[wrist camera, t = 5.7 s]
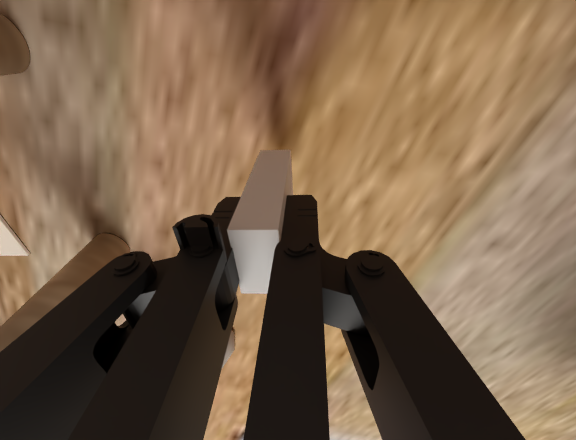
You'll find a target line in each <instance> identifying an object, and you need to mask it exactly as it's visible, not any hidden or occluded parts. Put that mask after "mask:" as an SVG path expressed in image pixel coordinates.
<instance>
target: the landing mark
mask: <svg viewBox="0 0 576 440" xmlns="http://www.w3.org/2000/svg"><path fill="white" fill-rule="evenodd" d="M30 254H31V253H30V252H29V251H28V250H27V248H26V247H25V246H24V245H23V243H22V242H21V241H20V239H19V238H18V237H17V236H16V234H15V233H14V232H13V230H12V229H11V228H10V227H9V225H8V224H7V223H6V221H5V220H4V219H3V218H2V216H1V215H0V256H29V255H30Z"/></svg>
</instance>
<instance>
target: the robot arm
mask: <svg viewBox="0 0 576 440" xmlns="http://www.w3.org/2000/svg"><path fill="white" fill-rule="evenodd" d="M172 228H173V230H174V233H175V236H176V239H177V241H178V244H179V247H180V251H179V253H178V255H177V256H176V257H172V258H168V259H164V260H159V261H155V262H153V261H152V259H151V257H150V256H149V254H147V253H145V252H139V251H134V252H130V253H125V254H123V255H121V256H118V257H116V258H115V259H113V260H112V261H110V262H109V263H107V264H106V265H105V266H104V267H102V268H101V269H100V270H99V271H98V272H96V273H95V274H94V275H93V276H92V277H90V278H89V279H88V280H87V281H86V282H84V283H83V284H82V285H81V286H79V287H78V288H77V289H76V290H75V291H73V292H72V293H71V294H70V295H69V296H67V297H66V298H65V299H64V300H63V301H61V302H60V303H59V304H58V305H57V306H55V307H54V308H53V309H52V310H50V311H49V312H48V313H47V314H46V315H44V316H43V317H42V318H41V319H40V320H38V321H37V322H36V323H35V324H34V325H32V326H31V327H30V328H29V329H27V330H26V331H25V332H24V333H23V334H21V335H20V336H19V337H18V338H17V339H15V340H14V341H13V342H12V343H11V344H9V345H8V346H7V347H6V348H5V349H3V350H2V351H1V352H0V440H203V438H204V435H205V431H206V427H207V423H208V419H209V415H210V411H211V407H212V404H213V400H214V396H215V392H216V388H217V384H218V380H219V377H220V373H221V369H222V365H223V361H224V357H225V353H226V349H227V346H228V342H229V338H230V334H231V330H232V326H233V322H234V318H235V315H236V311H237V307H238V300H237V296H236V291H237V288H238V284H239V286H240V290H241V293H256V294H267V299H266V305H265V311H264V318H263V324H262V330H261V336H260V342H259V348H258V354H257V360H256V367H255V373H254V379H253V385H252V391H251V397H250V403H249V410H248V416H247V422H246V428H245V434H244V440H329V419H328V399H327V379H326V358H325V338H324V323H325V324H328V325H331V326H334V327H337V328H340V329H341V331H342V334H343V337H344V339H345V342H346V345H347V347H348V350H349V353H350V355H351V358H352V361H353V363H354V366H355V368H356V371H357V374H358V376H359V379H360V382H361V384H362V387H363V390H364V392H365V395H366V397H367V400H368V403H369V405H370V408H371V411H372V413H373V416H374V419H375V421H376V424H377V427H378V429H379V432H380V434H381V437H382V440H525V438H524V437H523V436H522V434H521V433H520V431H519V430H518V429H517V427H516V426H515V425H514V423H513V422H512V421H511V419H510V418H509V417H508V415H507V414H506V412H505V411H504V410H503V408H502V407H501V406H500V404H499V403H498V402H497V400H496V399H495V398H494V396H493V395H492V393H491V392H490V391H489V389H488V388H487V387H486V385H485V384H484V383H483V381H482V380H481V379H480V377H479V376H478V374H477V373H476V372H475V370H474V369H473V368H472V366H471V365H470V364H469V362H468V361H467V360H466V358H465V357H464V355H463V354H462V353H461V351H460V350H459V349H458V347H457V346H456V345H455V343H454V342H453V341H452V339H451V338H450V336H449V335H448V334H447V332H446V331H445V330H444V328H443V327H442V326H441V324H440V323H439V322H438V320H437V319H436V317H435V316H434V315H433V313H432V312H431V311H430V309H429V308H428V307H427V305H426V304H425V303H424V301H423V300H422V298H421V297H420V296H419V294H418V293H417V292H416V290H415V289H414V288H413V286H412V285H411V284H410V282H409V281H408V279H407V278H406V277H405V275H404V274H403V273H402V271H401V270H400V269H399V267H398V266H397V265H396V263H395V262H394V261H393V260H392V259H391V258H390V257H388V256H386V255H384V254H382V253H380V252H376V251H372V250H364V251H359V252H355V253H353V254H352V255H351V256H349V257H348V259H344V258H340V257H336V256H333V255H331V254H329V253H327V252H326V251H325V250H324V249H323V248H322V247H321V245H320V243H319V234H318V214H317V201H316V200H315V199H314V197H313V196H312V195H293V185H292V164H291V150H260V152H259V155H258V157H257V160H256V162H255V164H254V167H253V169H252V172H251V174H250V176H249V179H248V181H247V183H246V186H245V188H244V191H243V193H242V195H241V197H226V198H224V199H223V200H222V201H221V202H219V203H218V204H217V206H216V208H215V210H214V213H212V215H204V214H201V215H193V216H190V217H187V218H184V219H183V220H181V221H179V222H177V223H176V224H175V225H174V226H173V227H172ZM122 314H123V315H124V317H125V318H126V321H125V322H124V323H123V324H121V325H120V326H117V325H116V324H115V321H116V320H117V319H118V318H119V317H120V316H121V315H122Z"/></svg>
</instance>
